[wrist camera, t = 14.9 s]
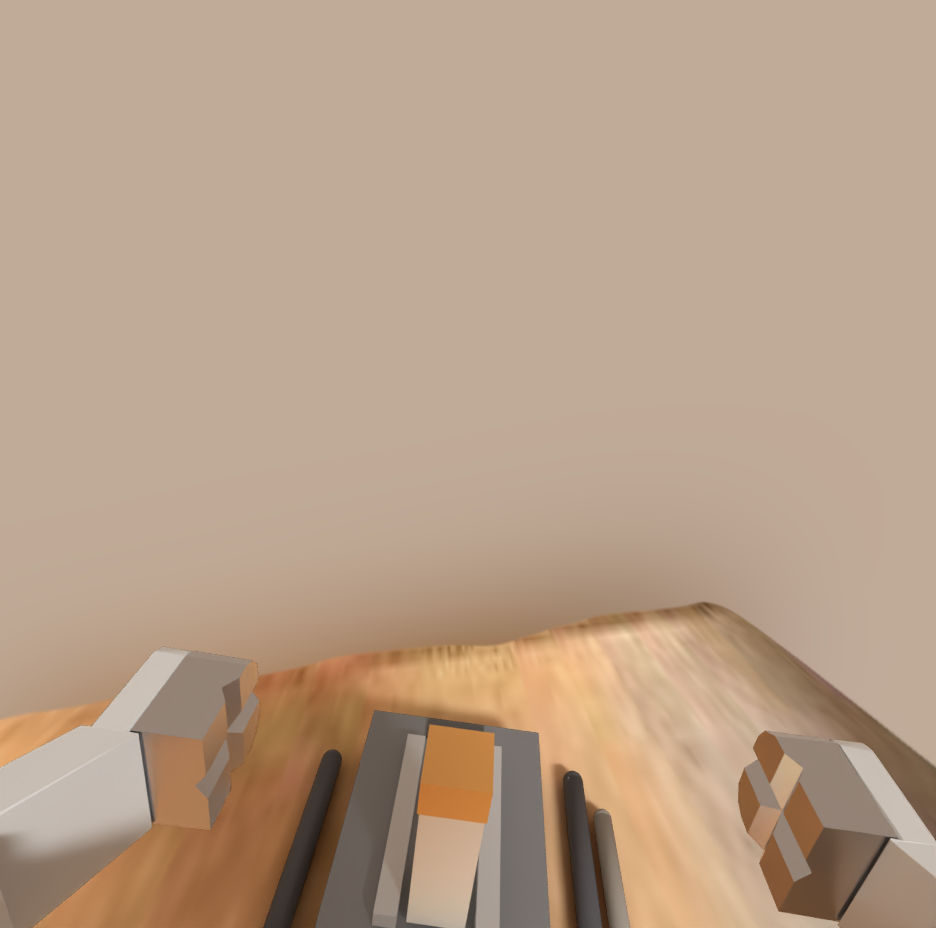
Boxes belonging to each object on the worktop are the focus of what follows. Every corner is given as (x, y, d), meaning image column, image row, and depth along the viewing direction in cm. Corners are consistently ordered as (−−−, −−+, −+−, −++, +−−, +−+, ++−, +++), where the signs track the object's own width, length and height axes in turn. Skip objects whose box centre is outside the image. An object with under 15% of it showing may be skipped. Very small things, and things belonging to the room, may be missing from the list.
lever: (413, 859, 32) (429, 724, 28) (470, 867, 32) (494, 733, 28) (403, 924, 29) (420, 783, 25) (466, 933, 29) (492, 793, 25)
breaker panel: (371, 749, 43) (375, 699, 41) (529, 771, 43) (540, 722, 41) (301, 1022, 28) (301, 965, 26) (541, 1057, 28) (559, 1002, 26)
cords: (328, 746, 43) (329, 732, 42) (602, 784, 43) (606, 771, 42) (236, 1014, 28) (235, 999, 28) (651, 1075, 28) (658, 1060, 27)
